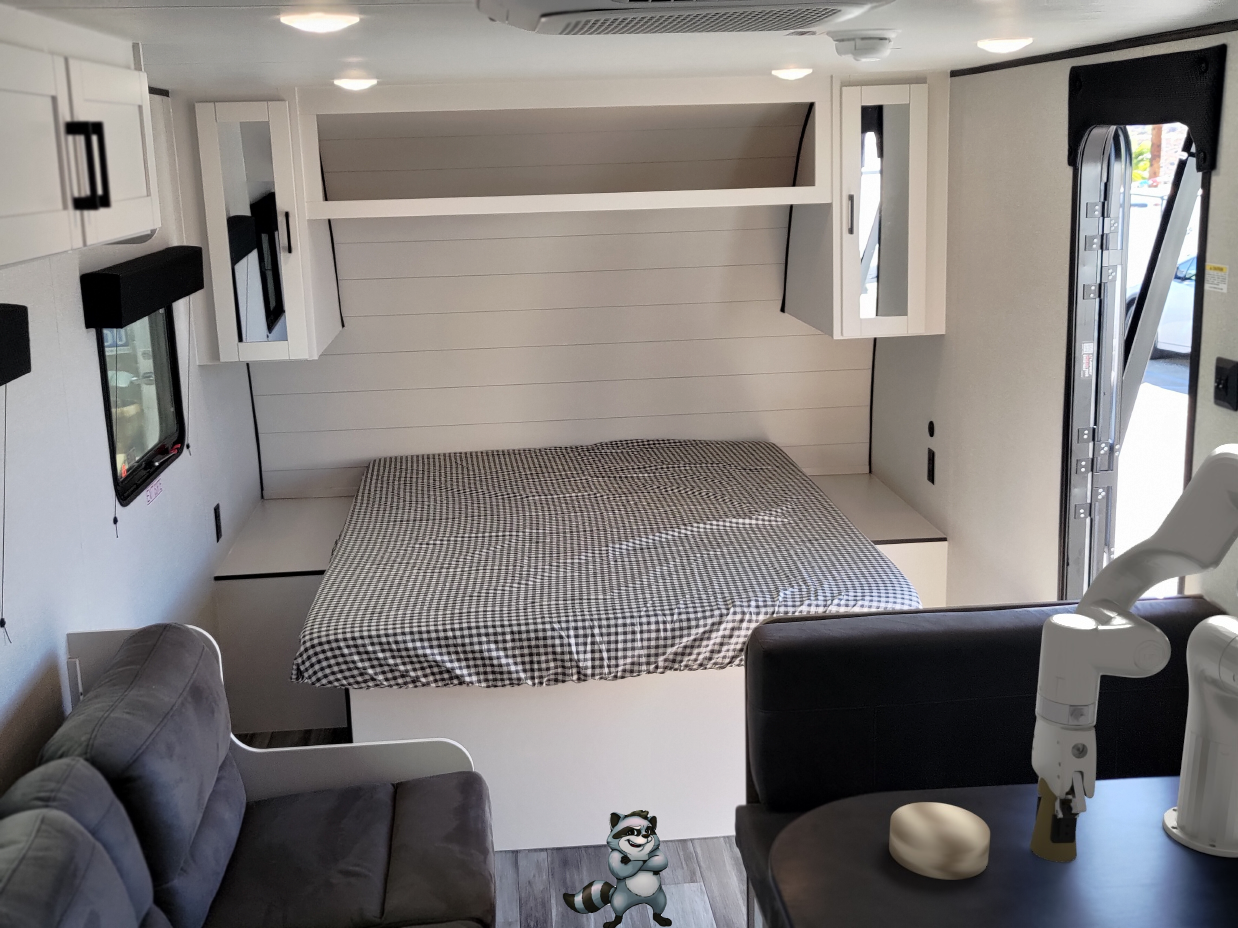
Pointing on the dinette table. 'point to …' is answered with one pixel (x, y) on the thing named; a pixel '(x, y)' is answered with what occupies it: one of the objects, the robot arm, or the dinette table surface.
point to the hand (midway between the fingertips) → (1054, 831)
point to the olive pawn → (1049, 829)
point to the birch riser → (939, 840)
